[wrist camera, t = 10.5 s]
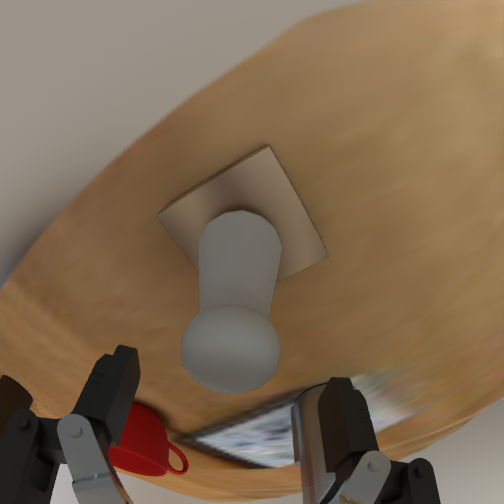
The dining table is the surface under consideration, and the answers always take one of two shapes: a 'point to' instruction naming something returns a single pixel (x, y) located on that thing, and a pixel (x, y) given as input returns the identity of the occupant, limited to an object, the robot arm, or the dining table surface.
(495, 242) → the dining table surface
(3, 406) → the olive oil
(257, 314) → the salt shaker
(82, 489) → the robot arm
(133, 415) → the ceramic cup
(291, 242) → the tan flat square
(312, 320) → the dining table surface
